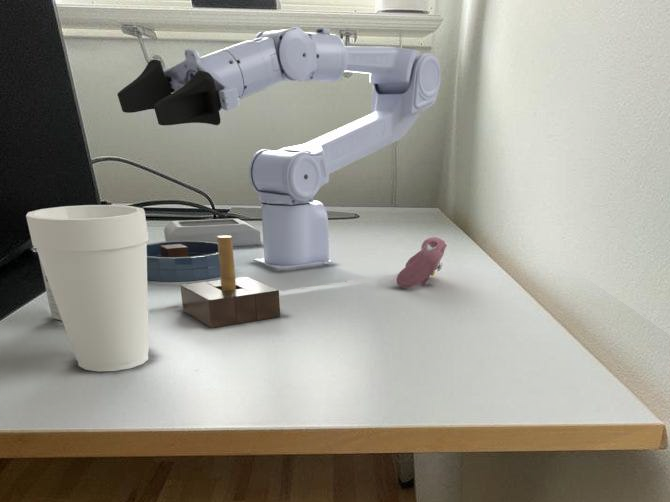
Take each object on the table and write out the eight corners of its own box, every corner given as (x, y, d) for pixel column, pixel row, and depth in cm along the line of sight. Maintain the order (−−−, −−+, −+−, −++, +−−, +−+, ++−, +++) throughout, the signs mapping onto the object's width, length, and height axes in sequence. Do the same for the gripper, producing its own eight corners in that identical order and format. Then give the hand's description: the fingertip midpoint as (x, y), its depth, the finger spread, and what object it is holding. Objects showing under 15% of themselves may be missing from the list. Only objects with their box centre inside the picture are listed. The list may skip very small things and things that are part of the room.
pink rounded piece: (422, 301, 88) (449, 254, 84) (392, 284, 87) (418, 235, 84) (430, 285, 96) (455, 241, 93) (403, 269, 96) (427, 224, 92)
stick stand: (248, 301, 81) (246, 276, 80) (280, 316, 75) (279, 290, 74) (183, 310, 77) (179, 284, 76) (211, 328, 71) (208, 300, 70)
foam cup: (105, 385, 56) (74, 223, 50) (38, 365, 61) (1, 213, 54) (186, 355, 63) (168, 210, 57) (120, 339, 68) (96, 202, 61)
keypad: (259, 224, 112) (168, 228, 107) (261, 247, 114) (171, 252, 109) (247, 216, 120) (162, 220, 115) (249, 238, 121) (165, 242, 117)
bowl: (209, 261, 103) (206, 237, 101) (247, 277, 93) (245, 251, 91) (121, 271, 96) (117, 246, 94) (152, 289, 86) (148, 262, 84)
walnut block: (182, 264, 98) (180, 243, 96) (190, 268, 96) (187, 246, 94) (162, 267, 96) (159, 245, 95) (170, 270, 94) (167, 248, 93)
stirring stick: (234, 311, 77) (228, 234, 73) (240, 314, 76) (234, 236, 72) (221, 313, 77) (214, 236, 72) (227, 316, 75) (220, 238, 71)
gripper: (186, 31, 84) (94, 60, 78) (260, 47, 77) (164, 81, 71) (200, 92, 90) (114, 124, 83) (270, 112, 82) (182, 149, 76)
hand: (139, 109), depth 78 cm, fingers open, 7 cm apart
